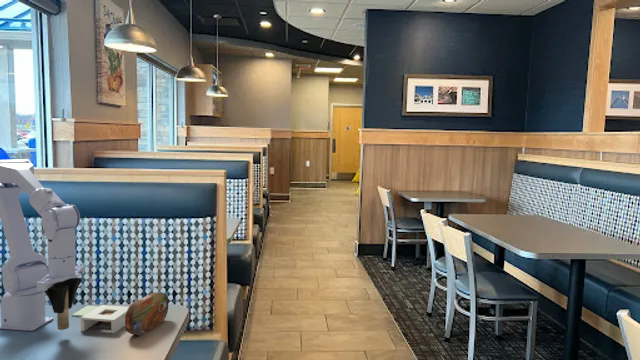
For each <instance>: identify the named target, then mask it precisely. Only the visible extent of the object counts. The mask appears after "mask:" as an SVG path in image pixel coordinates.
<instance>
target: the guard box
mask: <svg viewBox="0 0 640 360" xmlns="http://www.w3.org/2000/svg"><path fill="white" fill-rule="evenodd" d="M129 307H130V306H123V305H106V304H101V305H99V307H98V308H96V309H94V310H93V311H91V312H89V313H88V314H86V315H84V316H83V317H80V331H81V332H85V331H86V330H88V329H89V328H91V327H93V325H96V324H97V323H99V322H102V321H110V322H107V323H105V322H102V323H101V324H100V325H99V326H98V328H106V329H107V328H109V329H110V330H111V334H115V333H117V332H118V331H119V330H121V329H122V328H123V327H126V325H125V315H126V312H127V310H128V308H129ZM107 313H112V314H111V315H104V314H107Z"/></svg>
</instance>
